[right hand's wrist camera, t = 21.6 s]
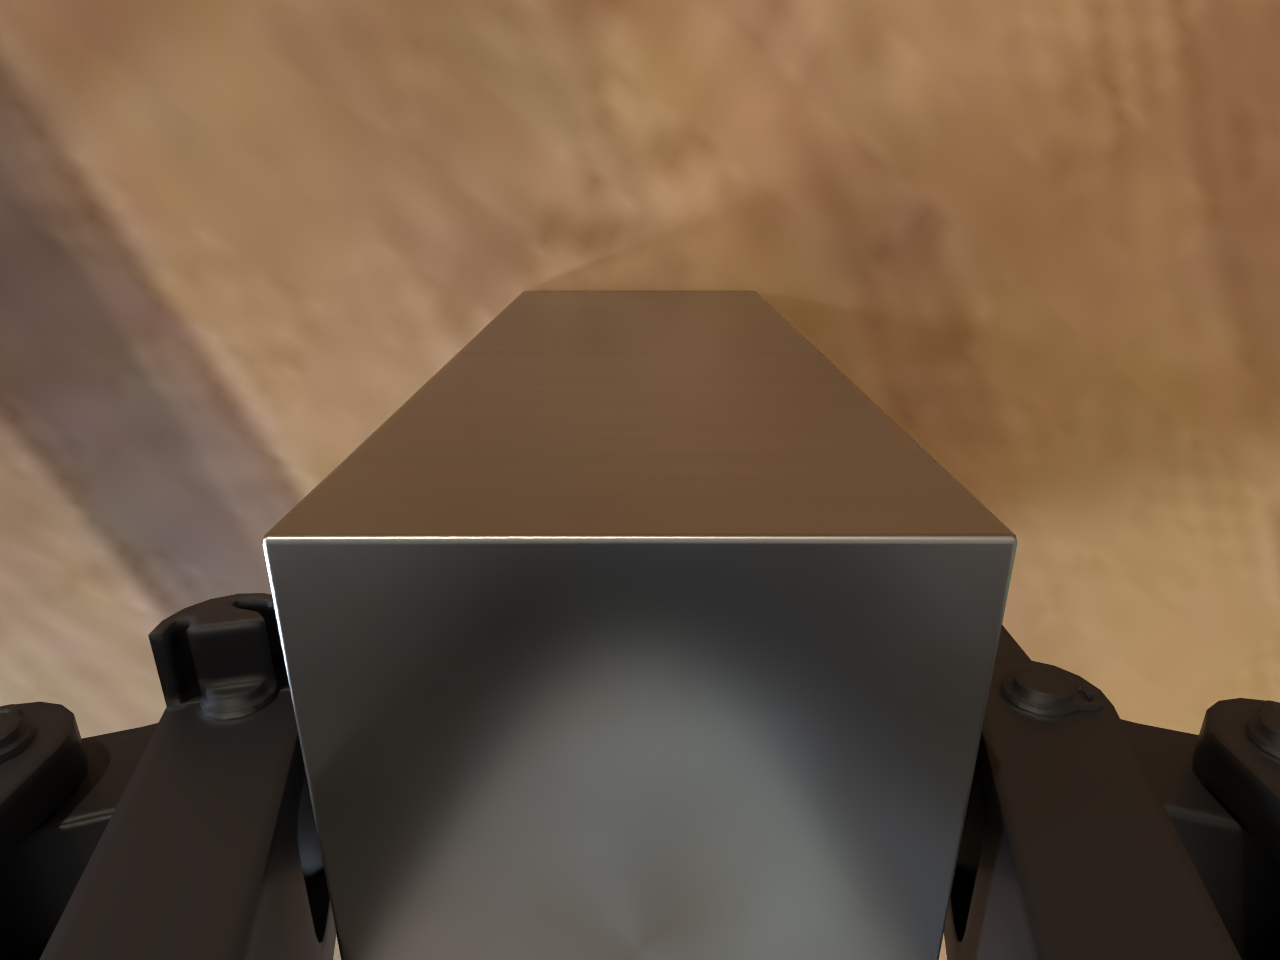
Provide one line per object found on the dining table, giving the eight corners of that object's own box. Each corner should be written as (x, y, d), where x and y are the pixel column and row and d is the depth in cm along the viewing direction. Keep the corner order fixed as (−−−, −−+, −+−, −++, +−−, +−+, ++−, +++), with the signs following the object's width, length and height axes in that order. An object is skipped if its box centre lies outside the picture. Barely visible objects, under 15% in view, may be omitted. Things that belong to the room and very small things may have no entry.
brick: (756, 290, 16) (1022, 537, 5) (740, 597, 19) (893, 1218, 7) (522, 290, 16) (257, 537, 5) (538, 597, 19) (387, 1218, 7)
